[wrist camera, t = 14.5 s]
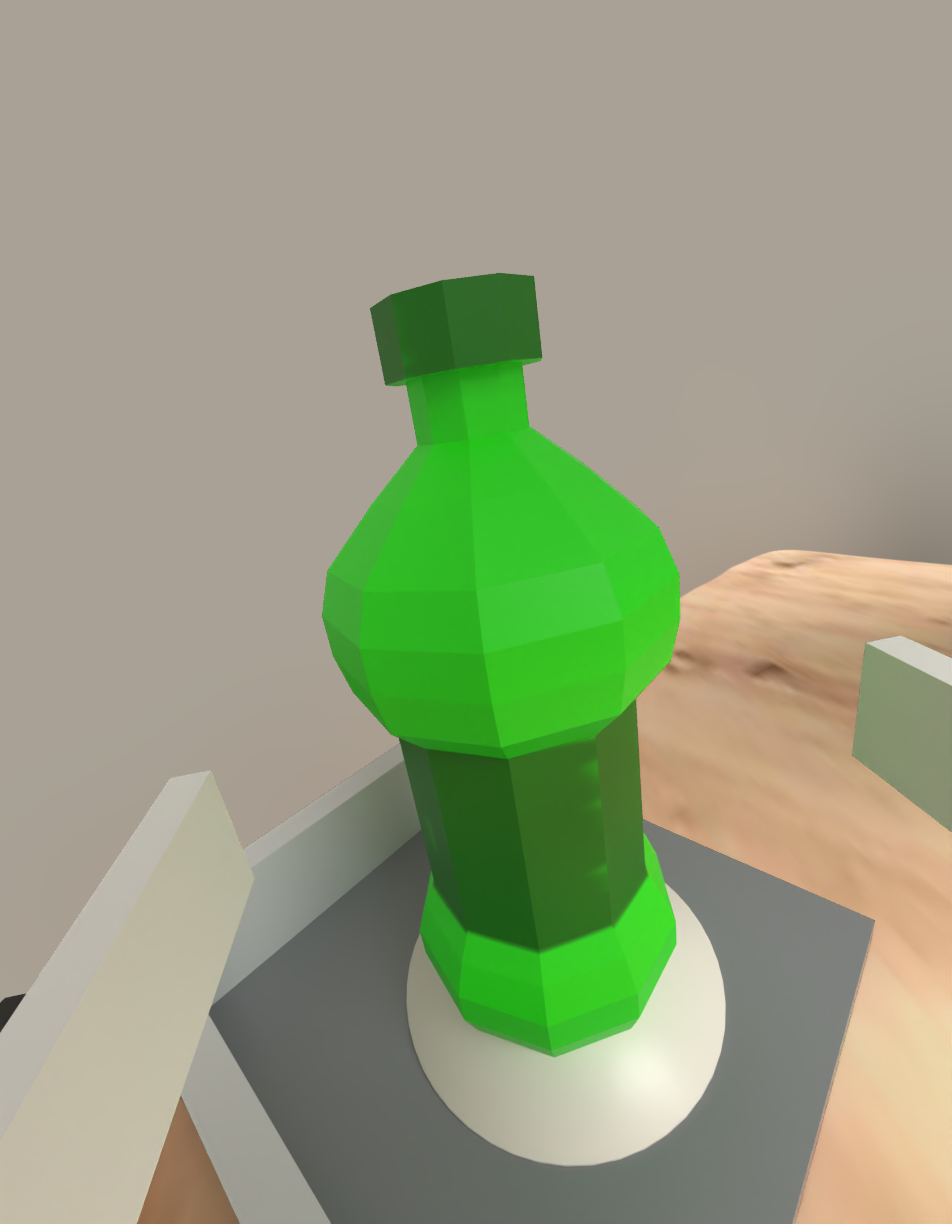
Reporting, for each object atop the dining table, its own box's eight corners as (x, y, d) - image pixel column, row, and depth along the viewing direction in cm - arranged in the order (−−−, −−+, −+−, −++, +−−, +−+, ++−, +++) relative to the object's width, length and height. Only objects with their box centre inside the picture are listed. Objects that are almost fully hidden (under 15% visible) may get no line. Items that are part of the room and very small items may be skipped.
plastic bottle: (416, 907, 26) (267, 352, 17) (613, 845, 28) (570, 309, 19) (455, 1166, 17) (183, 269, 8) (745, 1050, 19) (780, 200, 10)
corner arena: (490, 764, 38) (477, 690, 36) (872, 937, 23) (889, 827, 21) (163, 1034, 24) (109, 939, 22) (599, 1948, 9) (565, 1935, 7)
